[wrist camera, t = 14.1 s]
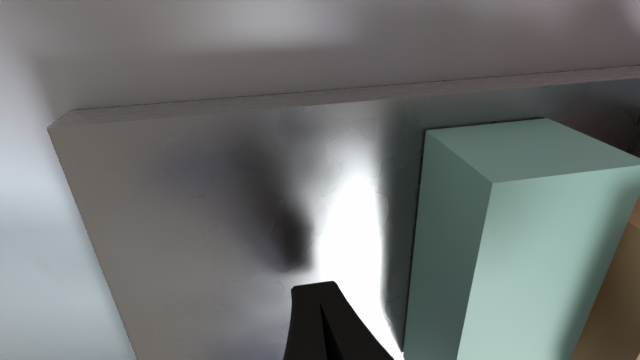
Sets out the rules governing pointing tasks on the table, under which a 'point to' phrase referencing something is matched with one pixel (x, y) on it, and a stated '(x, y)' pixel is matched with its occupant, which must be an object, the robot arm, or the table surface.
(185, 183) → the vise
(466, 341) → the block
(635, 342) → the walnut block
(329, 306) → the robot arm
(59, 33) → the table surface
